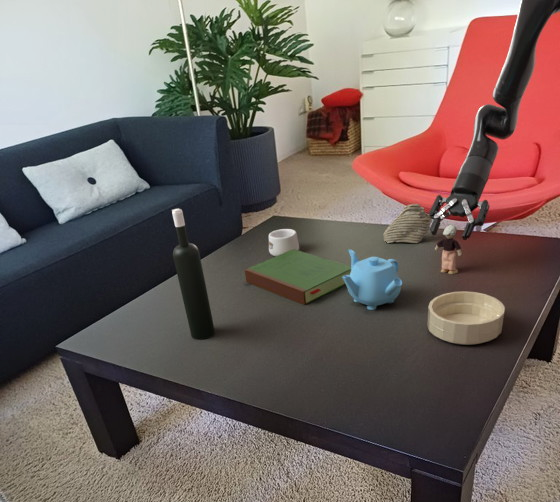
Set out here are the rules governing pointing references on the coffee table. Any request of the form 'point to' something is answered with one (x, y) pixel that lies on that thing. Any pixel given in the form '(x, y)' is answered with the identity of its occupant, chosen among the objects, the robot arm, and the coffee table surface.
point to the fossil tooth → (409, 225)
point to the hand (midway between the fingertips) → (448, 236)
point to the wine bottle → (192, 282)
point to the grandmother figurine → (449, 250)
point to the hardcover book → (298, 276)
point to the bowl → (465, 317)
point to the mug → (282, 241)
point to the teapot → (373, 280)
